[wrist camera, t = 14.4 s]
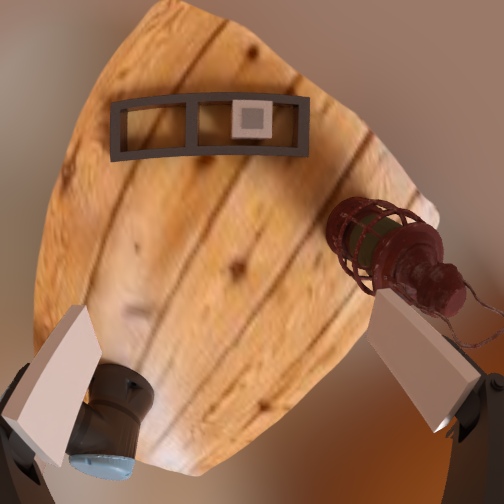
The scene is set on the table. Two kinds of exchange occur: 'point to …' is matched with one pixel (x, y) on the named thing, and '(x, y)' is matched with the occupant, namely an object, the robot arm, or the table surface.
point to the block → (251, 120)
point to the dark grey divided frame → (192, 125)
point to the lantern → (399, 258)
